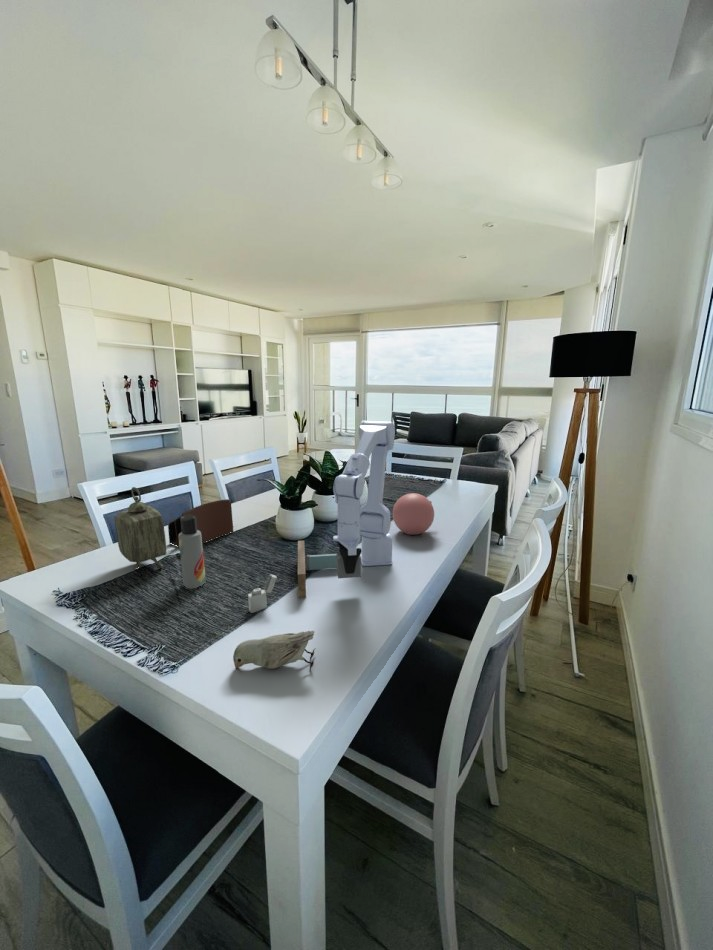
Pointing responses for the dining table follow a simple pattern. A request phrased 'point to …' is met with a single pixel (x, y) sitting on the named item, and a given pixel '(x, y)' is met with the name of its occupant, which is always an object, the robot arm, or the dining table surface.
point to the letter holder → (206, 521)
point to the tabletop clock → (140, 532)
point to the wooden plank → (301, 570)
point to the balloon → (413, 513)
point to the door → (321, 561)
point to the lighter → (261, 595)
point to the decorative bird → (274, 650)
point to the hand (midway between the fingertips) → (348, 568)
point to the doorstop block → (341, 568)
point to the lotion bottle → (191, 553)
